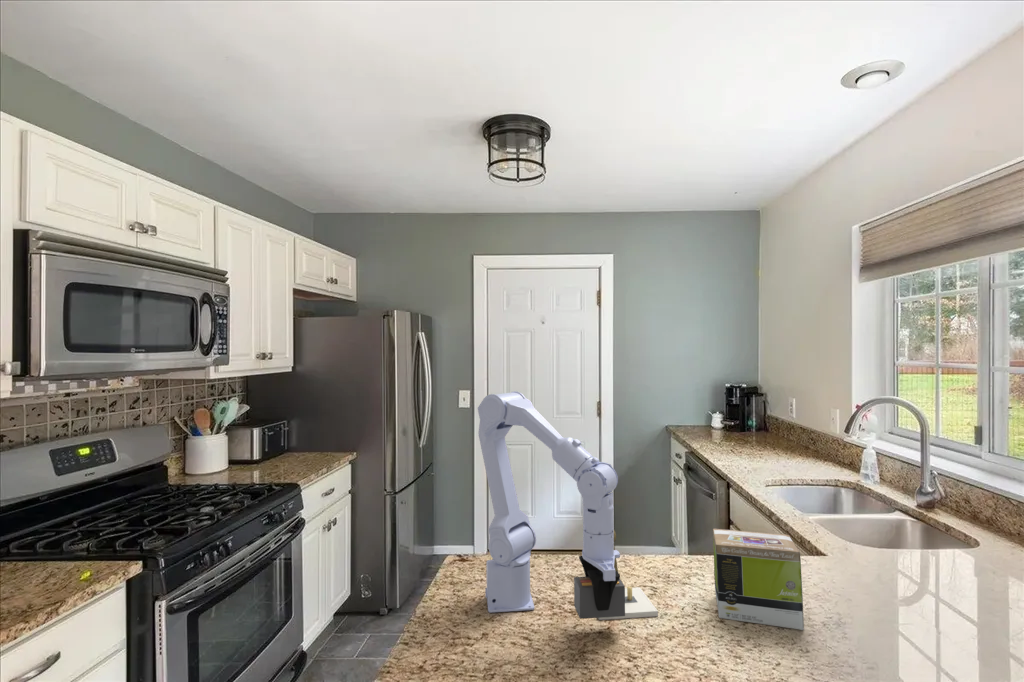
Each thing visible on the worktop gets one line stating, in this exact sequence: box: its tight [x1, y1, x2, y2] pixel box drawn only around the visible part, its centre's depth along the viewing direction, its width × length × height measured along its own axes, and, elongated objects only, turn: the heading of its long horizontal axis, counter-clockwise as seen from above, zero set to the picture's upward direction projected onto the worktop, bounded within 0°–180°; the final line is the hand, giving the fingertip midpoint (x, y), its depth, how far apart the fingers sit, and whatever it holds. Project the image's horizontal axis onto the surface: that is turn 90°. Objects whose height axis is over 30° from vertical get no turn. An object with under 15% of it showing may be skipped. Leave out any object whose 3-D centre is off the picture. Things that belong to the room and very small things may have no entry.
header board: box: [597, 586, 659, 621], centre depth 101 cm, size 12×10×4 cm
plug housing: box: [573, 576, 626, 620], centre depth 92 cm, size 8×4×6 cm, turn 96°
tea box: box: [712, 528, 805, 631], centre depth 98 cm, size 15×10×15 cm, turn 71°
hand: (598, 602), depth 92 cm, fingers closed on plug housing, 4 cm apart
